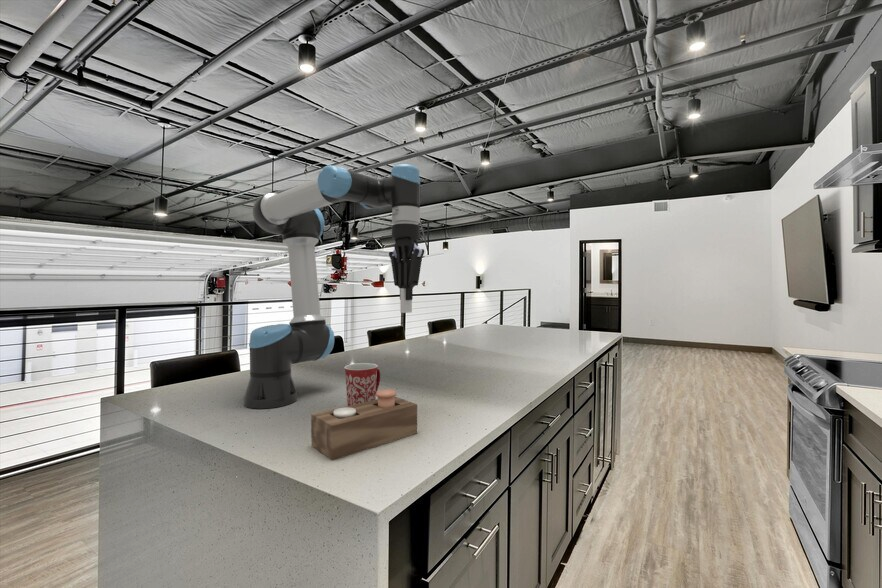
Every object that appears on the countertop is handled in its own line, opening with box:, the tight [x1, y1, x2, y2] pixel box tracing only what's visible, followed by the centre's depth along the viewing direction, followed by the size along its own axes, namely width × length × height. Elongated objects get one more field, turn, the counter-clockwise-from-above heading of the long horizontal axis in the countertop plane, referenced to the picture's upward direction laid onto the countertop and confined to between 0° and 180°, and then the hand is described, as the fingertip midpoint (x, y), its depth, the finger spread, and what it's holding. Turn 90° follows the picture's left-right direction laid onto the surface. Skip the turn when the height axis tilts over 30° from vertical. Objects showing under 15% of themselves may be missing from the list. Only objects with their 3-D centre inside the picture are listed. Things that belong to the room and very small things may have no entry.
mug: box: [344, 362, 381, 406], centre depth 109 cm, size 13×9×14 cm
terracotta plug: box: [376, 388, 397, 409], centre depth 94 cm, size 5×5×7 cm
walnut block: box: [310, 396, 418, 461], centre depth 90 cm, size 10×22×7 cm, turn 132°
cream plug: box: [334, 406, 356, 419], centre depth 86 cm, size 5×5×7 cm
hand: (406, 312), depth 105 cm, fingers closed
